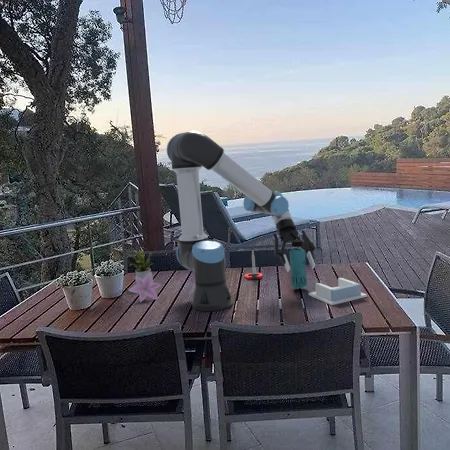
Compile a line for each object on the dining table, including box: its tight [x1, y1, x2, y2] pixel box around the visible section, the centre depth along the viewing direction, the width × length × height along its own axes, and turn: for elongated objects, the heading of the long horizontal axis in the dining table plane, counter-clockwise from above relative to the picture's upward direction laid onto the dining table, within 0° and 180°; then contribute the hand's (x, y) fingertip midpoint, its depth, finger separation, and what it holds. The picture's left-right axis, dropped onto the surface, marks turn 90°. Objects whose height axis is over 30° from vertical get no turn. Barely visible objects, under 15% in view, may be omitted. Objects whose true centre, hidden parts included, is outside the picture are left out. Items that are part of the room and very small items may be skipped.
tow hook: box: [244, 250, 264, 281], centre depth 196 cm, size 8×13×9 cm
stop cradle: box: [308, 277, 368, 306], centre depth 162 cm, size 16×14×5 cm
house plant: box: [127, 249, 155, 279], centre depth 200 cm, size 14×14×16 cm
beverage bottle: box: [289, 239, 308, 289], centre depth 172 cm, size 6×7×20 cm
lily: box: [128, 271, 162, 303], centre depth 177 cm, size 12×12×10 cm
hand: (301, 268), depth 169 cm, fingers open, 10 cm apart
